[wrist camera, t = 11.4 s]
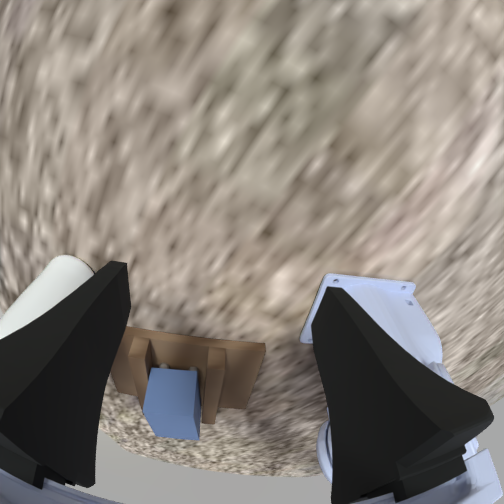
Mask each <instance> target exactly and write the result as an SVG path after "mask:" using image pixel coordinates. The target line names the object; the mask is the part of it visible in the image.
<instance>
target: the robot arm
mask: <svg viewBox="0 0 504 504" xmlns="http://www.w3.org/2000/svg"><path fill="white" fill-rule="evenodd" d="M335 279H337V280H336V281H333V280H335ZM415 288H416V286H415V284H414V283H413V282H405V281H396V280H386V279H377V278H368V277H359V276H350V275H341V274H332V273H329V274H326V275H325V276H324V278H323V280H322V283H321V286H320V288H319V291H318V293H317V296H316V298H315V301H314V303H313V306H312V308H311V311H310V313H309V316H308V318H307V321H306V323H305V326H304V328H303V330H302V333H301V335H300V338H299V339H300V342H301V343H313V348H314V352H315V356H316V360H317V364H318V368H319V372H320V376H321V380H322V384H323V387H324V391H325V395H326V400H327V405H328V407H327V413H328V417H329V420H328V421H326V422H324V423H323V424H322V426H321V427H320V430H319V433H318V438H317V444H316V450H317V457H318V461H319V464H320V467H321V470H322V472H323V474H324V475H325V477H326V478H327V480H328V481H329V482H330V483H331V484H332V492H331V503H332V504H493V503H494V502H495V501H497V500H498V499H499V498H500V497H501V496H502V495H503V492H502V489H501V485H500V482H499V479H498V476H497V473H496V470H495V467H494V464H493V461H492V459H491V456H490V453H489V451H488V449H487V448H485V449H484V450H482V451H480V452H478V453H477V449H478V446H479V445H478V441H477V438H476V436H477V435H478V434H480V433H481V432H482V431H483V430H485V429H486V428H487V427H488V426H489V425H490V424H491V423H492V422H493V420H494V415H493V413H492V411H491V409H490V407H489V405H488V403H487V401H486V400H485V399H483V398H481V397H478V396H476V395H474V394H472V393H470V392H467V391H465V390H463V389H461V388H460V387H458V386H456V385H454V383H453V381H452V379H451V377H450V375H449V373H448V372H447V370H446V368H445V366H444V364H441V363H442V346H441V341H440V338H439V336H438V334H437V332H436V331H435V329H434V327H433V326H432V324H431V322H430V321H429V319H428V318H427V316H426V314H425V313H424V311H423V310H422V308H421V307H420V305H419V304H418V302H417V300H416V299H415V297H414V296H413V292H414V290H415ZM130 309H131V301H130V292H129V282H128V271H127V263H124V262H117V261H110V262H109V263H107V264H106V265H105V266H104V267H102V268H101V269H100V270H99V271H98V272H96V273H95V274H94V275H93V276H92V277H90V278H89V279H88V280H87V281H85V282H84V283H83V284H82V285H81V286H79V287H78V288H77V289H76V290H75V291H73V292H72V293H71V294H69V295H68V296H67V297H65V298H64V299H63V300H62V301H60V302H59V303H58V304H56V305H55V306H54V307H52V308H51V309H50V310H48V311H47V312H45V313H44V314H43V315H41V316H40V317H38V318H36V319H35V320H33V321H32V322H30V323H29V324H27V325H25V326H24V327H22V328H20V329H18V330H16V331H15V332H13V333H11V334H9V335H8V336H6V337H4V338H2V339H0V504H123V503H119V502H115V501H111V500H107V499H104V498H100V497H96V496H93V495H90V494H87V493H84V492H81V491H78V490H75V489H72V488H69V487H66V486H65V483H67V484H70V485H72V486H75V484H77V485H80V486H82V487H86V488H89V487H91V486H93V485H94V484H95V460H96V445H97V434H98V426H99V419H100V412H101V406H102V401H103V396H104V391H105V387H106V383H107V380H108V377H109V374H110V371H111V368H112V365H113V362H114V359H115V357H116V354H117V351H118V348H119V346H120V343H121V340H122V338H123V335H124V332H125V329H126V325H127V321H128V317H129V313H130ZM310 338H311V339H310Z"/></svg>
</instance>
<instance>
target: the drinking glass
mask: <svg viewBox="0 0 504 504" xmlns="http://www.w3.org/2000/svg"><path fill="white" fill-rule="evenodd" d="M93 275H94V273H93V271H92V270H91V269H90V267H89V266H88V265H87V264H86V263H84V262H83V261H82V260H80V259H78V258H76V257H74V256H71V255H60V256H57V257H55V258H54V259H52V260H51V261H50V262H49V264H48V265H47V266H46V267H45V269H44V270H43V271H42V272H41V273H40V274H39V275H38V276H37V278H36V279H35V280H34V281H33V282H32V283H31V284H30V285H29V286H28V287H27V288H26V289H25V291H24V292H23V293H22V294H21V295H20V296H19V297H18V298H17V300H16V301H15V302H14V303H13V304H12V305H11V306H10V308H9V309H8V310H7V311H6V312H5V313H4V315H3V316H2V317H1V318H0V339H2V338H4V337H6V336H8V335H9V334H11V333H13V332H15V331H16V330H18V329H20V328H22V327H24V326H25V325H27V324H29V323H30V322H32V321H33V320H35V319H36V318H38V317H40V316H41V315H43V314H44V313H45V312H47V311H48V310H50V309H51V308H52V307H54V306H55V305H56V304H58V303H59V302H60V301H62V300H63V299H64V298H65V297H67V296H68V295H69V294H71V293H72V292H73V291H75V290H76V289H77V288H78V287H79V286H81V285H82V284H83V283H84V282H85V281H87V280H88V279H89V278H90V277H92V276H93Z"/></svg>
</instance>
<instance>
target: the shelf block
mask: <svg viewBox="0 0 504 504" xmlns="http://www.w3.org/2000/svg"><path fill="white" fill-rule="evenodd" d="M142 412H143V413H144V415H145V417H146V419H147V421H148V423H149V425H150V426H151V428H152V430H153V432H154V433H155V435H156V436H159V437H168V438H177V439H188V440H199V434H200V417H201V394H200V387H199V380H198V373H197V371H188V370H174V369H162V368H152V367H151V371H150V376H149V381H148V385H147V390H146V395H145V400H144V405H143V411H142Z"/></svg>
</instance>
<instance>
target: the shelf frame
mask: <svg viewBox="0 0 504 504" xmlns="http://www.w3.org/2000/svg"><path fill="white" fill-rule="evenodd" d="M265 352H266V350H265V343H252V342H240V341H229V340H219V339H210V338H201V337H193V336H186V335H178V334H171V333H164V332H158V331H151V330H145V329H139V328H133V327H128V326H126V329H125V332H124V335H123V338H122V340H121V343H120V346H119V348H118V351H117V354H116V357H115V359H114V362H113V365H112V368H111V374H112V377H113V380H114V383H115V385H116V388H117V391H118V392H119V393H124V394H129V395H134V396H138V399H139V402H140V406H141V409H142V411H143V405H144V400H145V395H146V390H147V385H148V381H149V376H150V371H151V367H152V368H162V369H174V370H188V371H197V373H198V380H199V387H200V394H201V406H203V408H202V423H204V424H215V419H216V413H217V408H218V407H220V408H234V409H246V406H247V403H248V400H249V398H250V395H251V392H252V389H253V387H254V384H255V381H256V378H257V375H258V372H259V369H260V367H261V364H262V361H263V358H264V355H265ZM142 413H143V412H142ZM143 415H144V413H143Z"/></svg>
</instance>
